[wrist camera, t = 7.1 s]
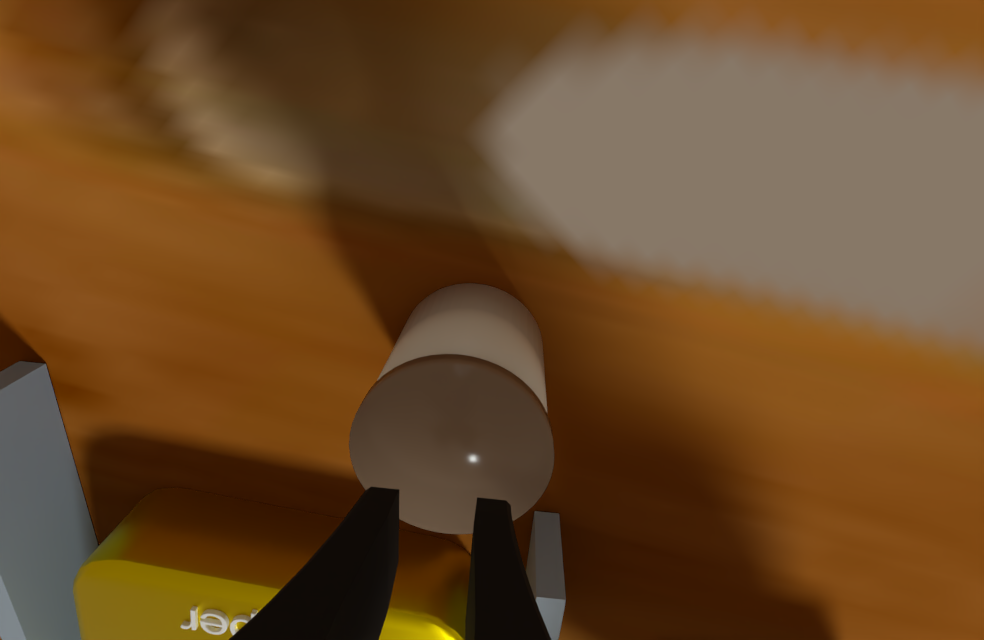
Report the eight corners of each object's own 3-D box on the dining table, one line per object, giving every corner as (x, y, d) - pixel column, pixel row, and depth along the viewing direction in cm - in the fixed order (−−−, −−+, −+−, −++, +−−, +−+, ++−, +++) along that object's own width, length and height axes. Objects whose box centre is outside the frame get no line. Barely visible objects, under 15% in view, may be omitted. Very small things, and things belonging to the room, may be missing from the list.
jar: (554, 288, 18) (567, 377, 13) (536, 418, 20) (541, 543, 15) (400, 273, 18) (346, 355, 13) (398, 404, 20) (351, 523, 15)
